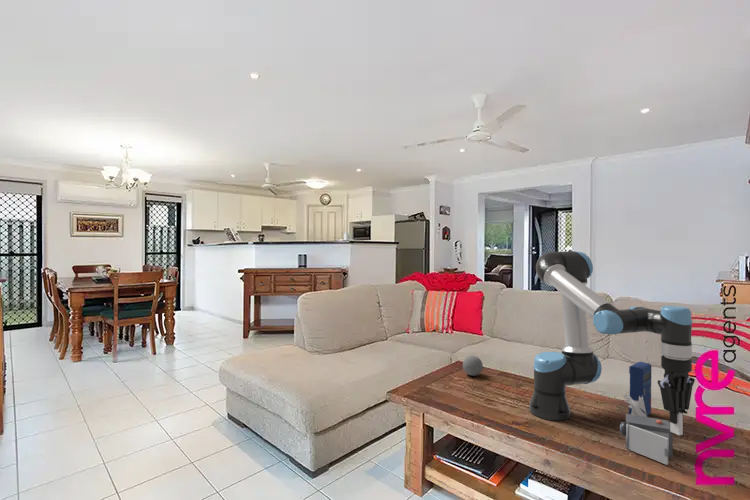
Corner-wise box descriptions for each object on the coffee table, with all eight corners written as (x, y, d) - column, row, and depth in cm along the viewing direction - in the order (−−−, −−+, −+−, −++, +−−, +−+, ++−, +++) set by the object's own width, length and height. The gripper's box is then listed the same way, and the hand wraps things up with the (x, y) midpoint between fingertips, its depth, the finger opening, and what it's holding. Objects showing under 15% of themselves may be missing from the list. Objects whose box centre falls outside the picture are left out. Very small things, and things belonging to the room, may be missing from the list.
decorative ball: (463, 378, 199) (463, 358, 199) (462, 371, 209) (462, 352, 209) (483, 379, 198) (483, 359, 197) (481, 372, 208) (481, 353, 207)
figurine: (629, 417, 154) (629, 387, 154) (652, 424, 148) (652, 393, 148) (617, 425, 148) (617, 393, 147) (640, 433, 142) (640, 400, 141)
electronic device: (643, 420, 151) (643, 369, 151) (628, 416, 155) (628, 365, 155) (652, 414, 157) (652, 364, 157) (637, 409, 161) (637, 360, 161)
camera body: (621, 447, 132) (621, 418, 132) (619, 438, 139) (619, 410, 138) (672, 457, 126) (672, 427, 126) (668, 447, 132) (668, 418, 132)
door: (624, 448, 131) (624, 424, 130) (627, 447, 132) (627, 423, 131) (666, 466, 120) (666, 440, 120) (669, 464, 121) (669, 438, 121)
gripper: (678, 351, 127) (679, 424, 128) (648, 355, 123) (649, 430, 124) (704, 358, 120) (704, 435, 121) (673, 362, 116) (673, 442, 117)
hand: (676, 433), depth 122 cm, fingers closed
